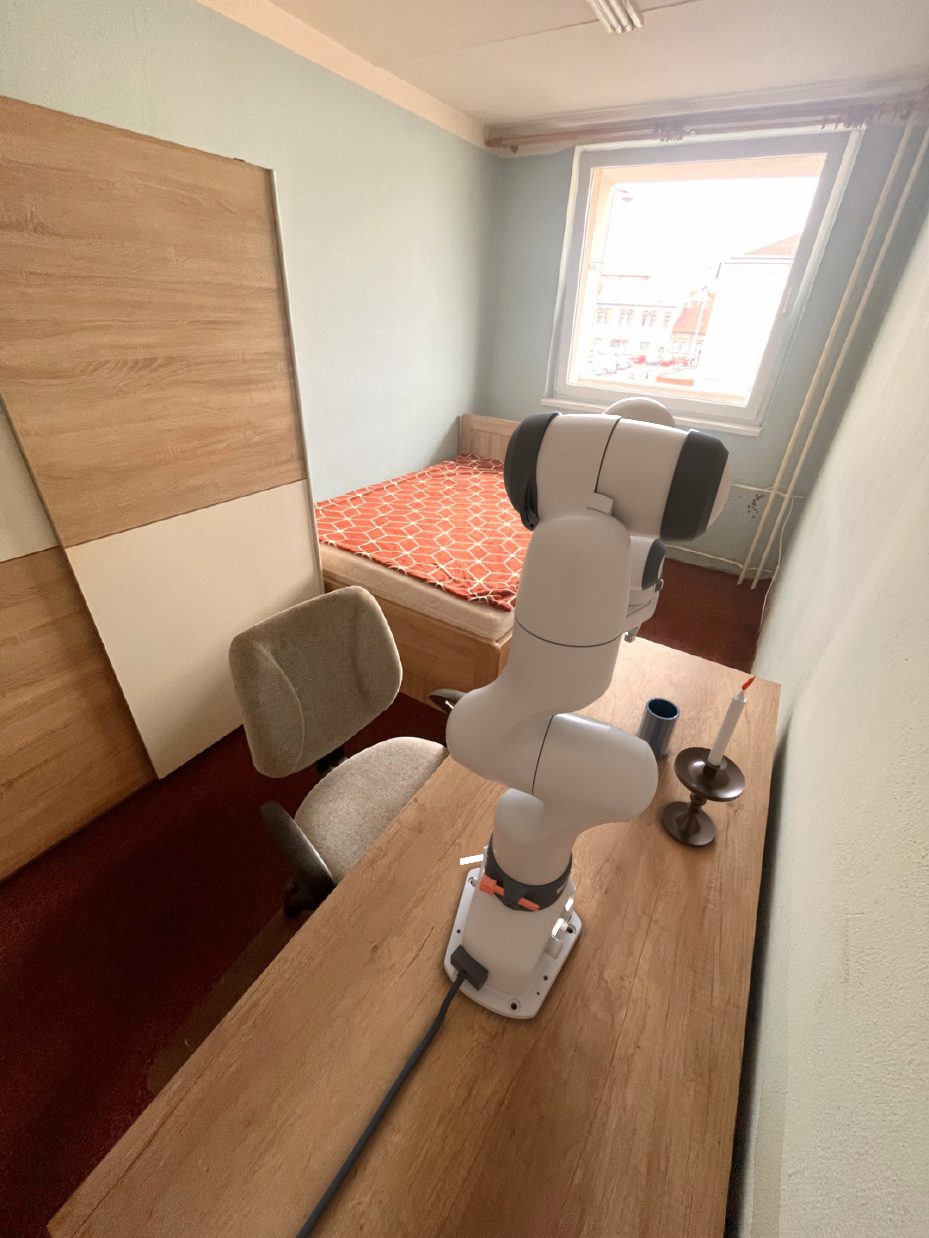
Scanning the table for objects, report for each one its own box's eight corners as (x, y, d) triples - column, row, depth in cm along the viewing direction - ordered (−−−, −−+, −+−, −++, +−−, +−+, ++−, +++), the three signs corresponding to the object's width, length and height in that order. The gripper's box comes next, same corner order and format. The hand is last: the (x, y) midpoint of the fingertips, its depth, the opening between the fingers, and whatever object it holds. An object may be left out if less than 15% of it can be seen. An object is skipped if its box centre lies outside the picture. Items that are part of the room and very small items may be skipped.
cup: (664, 762, 105) (678, 723, 99) (632, 751, 107) (643, 712, 101) (668, 742, 110) (681, 703, 104) (637, 732, 112) (648, 693, 106)
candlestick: (727, 824, 93) (800, 673, 74) (706, 864, 86) (780, 709, 67) (670, 790, 99) (724, 643, 80) (645, 826, 92) (698, 674, 73)
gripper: (614, 607, 90) (603, 672, 96) (668, 578, 103) (655, 638, 109) (584, 596, 94) (575, 659, 100) (639, 570, 107) (628, 628, 113)
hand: (617, 648), depth 105 cm, fingers open, 8 cm apart
